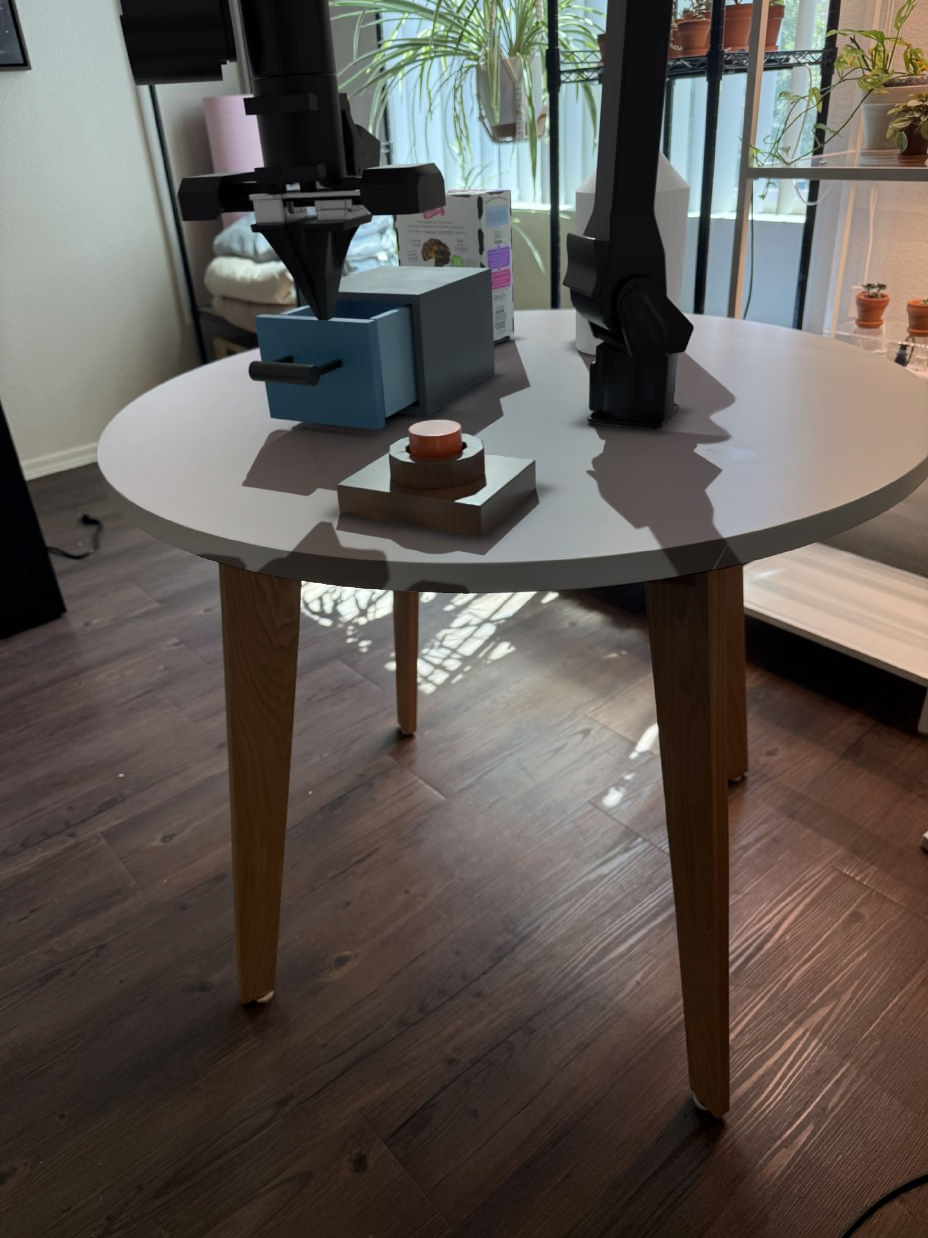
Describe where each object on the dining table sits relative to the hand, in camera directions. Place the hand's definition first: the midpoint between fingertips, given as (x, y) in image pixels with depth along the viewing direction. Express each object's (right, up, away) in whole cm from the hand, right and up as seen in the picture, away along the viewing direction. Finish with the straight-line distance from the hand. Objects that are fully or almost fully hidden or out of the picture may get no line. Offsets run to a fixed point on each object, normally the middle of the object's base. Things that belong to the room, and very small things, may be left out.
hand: (325, 319), depth 66 cm
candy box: (+10, +12, +42) cm, 45 cm away
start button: (+9, -11, -6) cm, 15 cm away
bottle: (+29, +8, +34) cm, 45 cm away
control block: (+9, -14, -4) cm, 17 cm away
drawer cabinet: (+5, 0, +22) cm, 22 cm away
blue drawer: (0, -4, +13) cm, 14 cm away
